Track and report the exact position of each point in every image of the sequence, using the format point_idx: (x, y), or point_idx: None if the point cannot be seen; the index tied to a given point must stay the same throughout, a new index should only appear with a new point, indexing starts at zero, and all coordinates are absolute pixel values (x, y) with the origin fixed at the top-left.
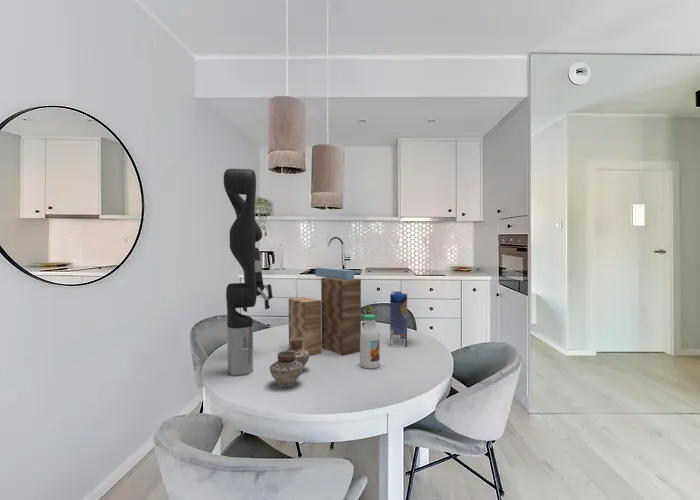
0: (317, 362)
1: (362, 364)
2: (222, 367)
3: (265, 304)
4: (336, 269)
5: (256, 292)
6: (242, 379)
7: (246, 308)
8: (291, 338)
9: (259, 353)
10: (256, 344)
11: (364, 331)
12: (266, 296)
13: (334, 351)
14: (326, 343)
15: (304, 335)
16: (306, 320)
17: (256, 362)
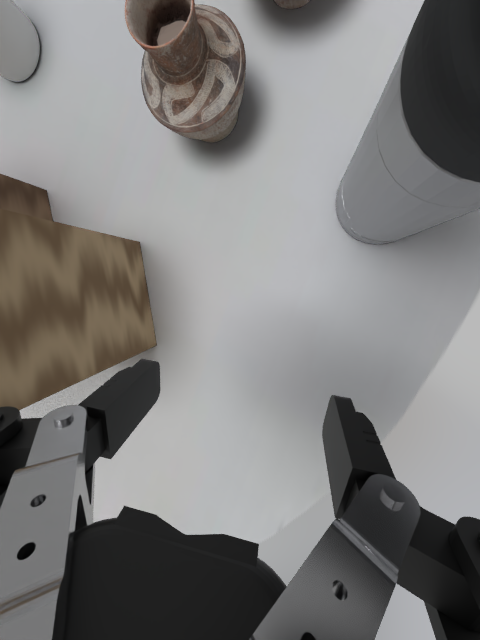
0: (130, 163)
1: (30, 28)
2: (421, 279)
3: (133, 393)
4: None
5: (127, 602)
6: None
7: (343, 413)
8: (173, 38)
9: (250, 359)
10: (224, 458)
11: None
12: (39, 445)
13: None
14: None
15: (86, 238)
16: (6, 212)
17: (295, 269)
